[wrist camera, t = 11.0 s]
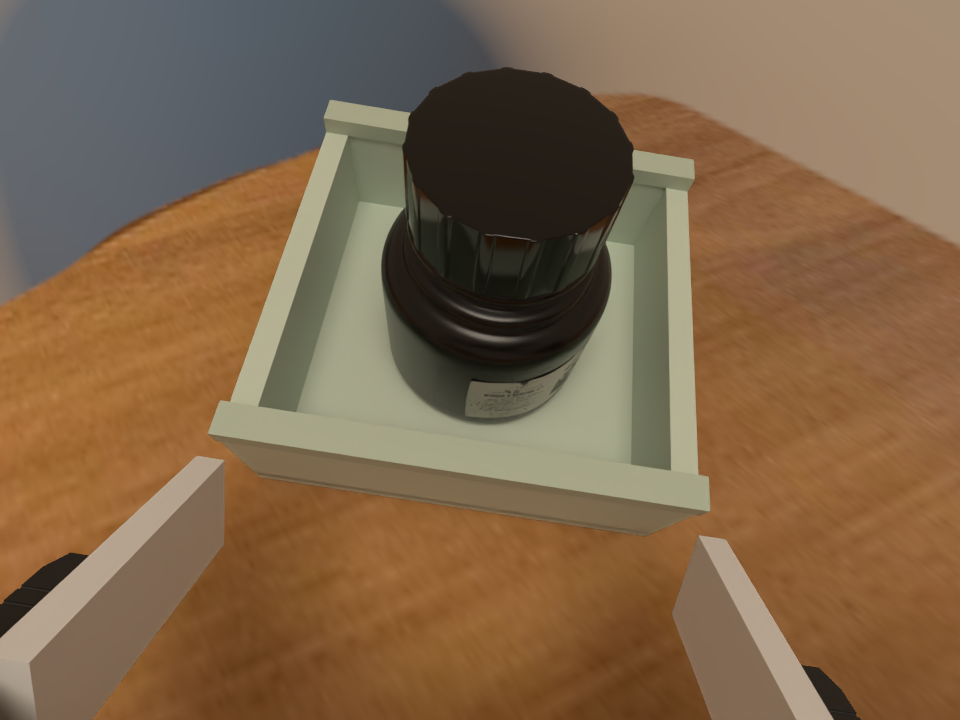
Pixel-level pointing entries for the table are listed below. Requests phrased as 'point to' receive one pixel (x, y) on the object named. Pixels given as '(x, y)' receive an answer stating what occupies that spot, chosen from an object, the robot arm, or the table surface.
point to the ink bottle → (502, 240)
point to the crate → (442, 437)
